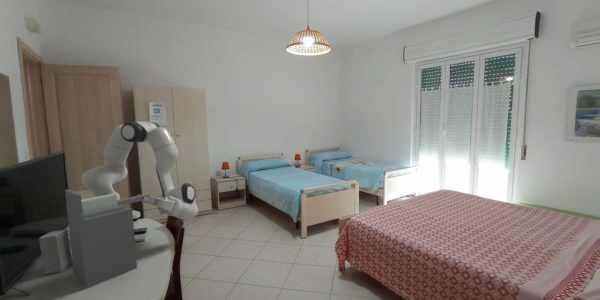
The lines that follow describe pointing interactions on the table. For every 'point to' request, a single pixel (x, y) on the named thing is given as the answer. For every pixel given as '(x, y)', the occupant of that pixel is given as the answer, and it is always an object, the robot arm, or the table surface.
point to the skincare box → (55, 251)
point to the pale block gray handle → (107, 202)
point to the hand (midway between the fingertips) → (140, 196)
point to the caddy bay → (100, 241)
